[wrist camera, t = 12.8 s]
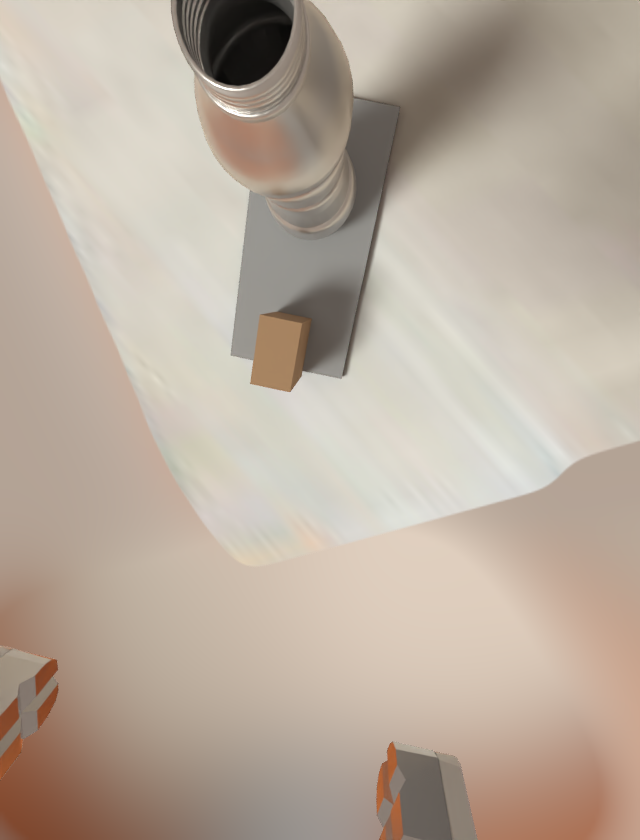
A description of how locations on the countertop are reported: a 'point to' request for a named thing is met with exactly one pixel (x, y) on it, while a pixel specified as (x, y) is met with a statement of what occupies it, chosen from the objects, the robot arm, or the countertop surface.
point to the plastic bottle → (274, 104)
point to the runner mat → (310, 270)
